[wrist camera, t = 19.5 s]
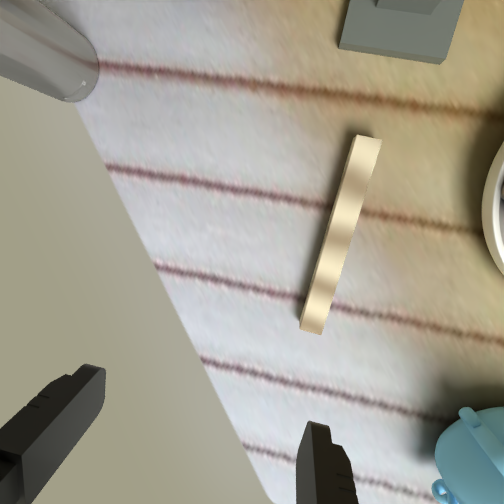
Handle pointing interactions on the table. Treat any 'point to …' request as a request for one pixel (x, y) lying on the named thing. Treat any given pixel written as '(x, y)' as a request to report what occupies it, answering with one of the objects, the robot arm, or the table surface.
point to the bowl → (495, 209)
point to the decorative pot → (471, 459)
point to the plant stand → (401, 28)
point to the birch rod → (339, 232)
